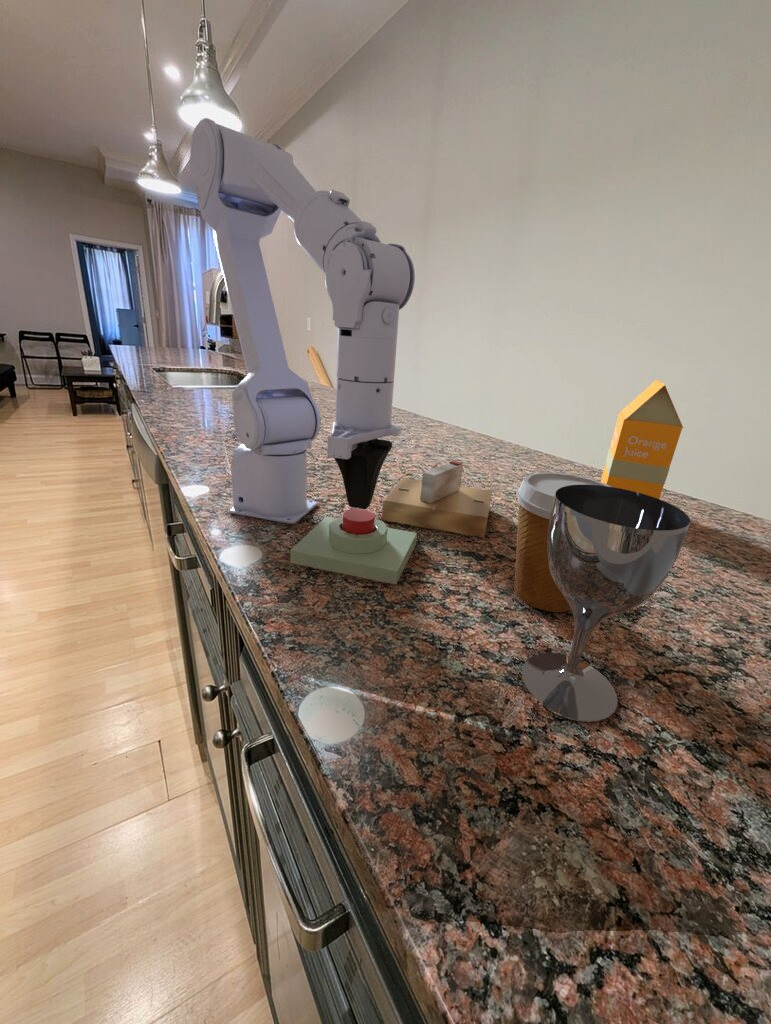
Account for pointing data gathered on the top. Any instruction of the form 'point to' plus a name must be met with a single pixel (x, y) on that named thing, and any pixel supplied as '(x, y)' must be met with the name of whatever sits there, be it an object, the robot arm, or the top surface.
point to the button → (358, 522)
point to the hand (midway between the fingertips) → (359, 505)
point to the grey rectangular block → (441, 481)
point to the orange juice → (643, 443)
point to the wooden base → (438, 509)
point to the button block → (356, 550)
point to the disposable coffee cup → (539, 539)
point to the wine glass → (600, 583)
